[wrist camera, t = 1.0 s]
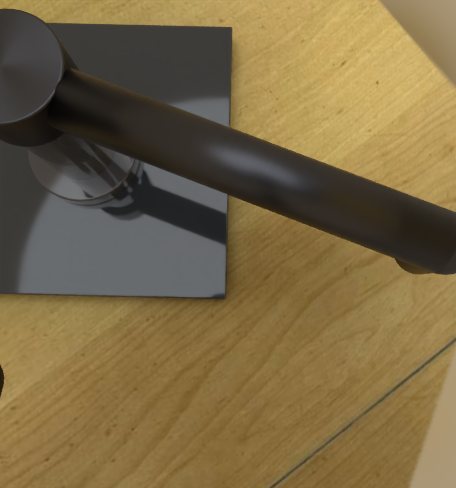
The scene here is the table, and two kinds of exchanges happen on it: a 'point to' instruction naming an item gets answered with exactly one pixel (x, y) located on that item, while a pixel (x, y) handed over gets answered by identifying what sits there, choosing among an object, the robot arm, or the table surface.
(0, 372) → the robot arm
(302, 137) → the table surface
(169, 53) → the black flat block
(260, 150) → the spout
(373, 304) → the table surface
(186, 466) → the table surface
